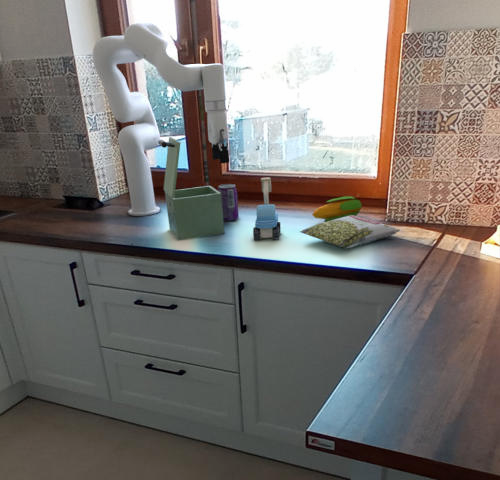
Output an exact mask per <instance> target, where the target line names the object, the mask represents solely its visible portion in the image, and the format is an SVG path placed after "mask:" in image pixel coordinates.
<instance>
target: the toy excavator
mask: <svg viewBox="0 0 500 480" xmlns="http://www.w3.org/2000/svg"><path fill="white" fill-rule="evenodd" d="M260 182H261V183H260V184H261V192H262V193H263V204H259V205H257V206H256V218H255V223H254V227H253V229H252V234H253V235H252V236H253V241H260V240H261V239H269V238H272V239H273V240H280V235H281V233H282V232H281V231H282V230H281V229H282V227H281V221H279V214H278V213H276V205H275V204H273V203H270V197H269V196H270V195H269V193H272V179H271V177H261V178H260Z"/></svg>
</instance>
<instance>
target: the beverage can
mask: <svg viewBox="0 0 500 480" xmlns="http://www.w3.org/2000/svg"><path fill="white" fill-rule="evenodd" d="M217 191H218V192H220V193H221V198H222V211H223V222H234V221H236V220H237V219H239V217H240V214H239V202H238V200H239V199H238V190H237V188H236V184H232V183H225V184H220V185H218V189H217Z"/></svg>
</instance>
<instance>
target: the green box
mask: <svg viewBox="0 0 500 480" xmlns="http://www.w3.org/2000/svg"><path fill="white" fill-rule="evenodd" d="M164 196H165V204H166V212H167V221H168V226H169V227H168V228H169V231H170V232H171V234H172V235H173V236H174V237H175V239H176V240H177V241H185V240H192V239H198V238H204V237H205V238H206V237H210V236H211V237H212V236H218V235H224V234H225V226H224V223H225V222H224V221H223V211H222V198H221V193H220V192H218V189H216V188H215V187H213V186H211V185H205V186H197V187H191V188H190V187H189V188H181V189H175V196H174V198H172V197H171V196H170V195H168V194H167V193H166V192H165V191H164Z"/></svg>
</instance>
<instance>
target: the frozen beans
mask: <svg viewBox="0 0 500 480" xmlns="http://www.w3.org/2000/svg"><path fill="white" fill-rule="evenodd" d="M400 231H401V229H400V228H395V227H393V226H392V225H391V226H390V225H388V224H384V223H381V222H378V221H375V220H371V219H368V218H366V217H362V216H358V215H356V216H354V215H351V216H346V217H342V218H338V219H335V220H331V221H328V222H324V221H323V222H320V223H317V224H314V225H312V226H310V227H308V228H305V229H302V230H300V231H299V233H302V234H304V235H306V236H309V237H312V238H316V239H317V240H321V241H323V242H327V243H329V244H332V245H335V246H338V247H340V248H344V249H346V250H347V249H351V248H354V247H358V246H361V245H362V246H363V245H365V244H369V243H372V242H375V241H378V240H381V239H385V238H388V237H391V236H393V235H396V234H397V233H399V232H400Z"/></svg>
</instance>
